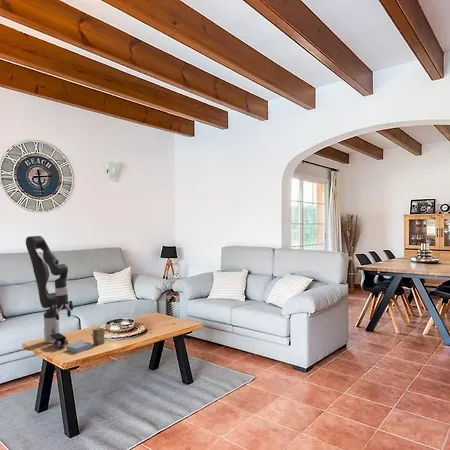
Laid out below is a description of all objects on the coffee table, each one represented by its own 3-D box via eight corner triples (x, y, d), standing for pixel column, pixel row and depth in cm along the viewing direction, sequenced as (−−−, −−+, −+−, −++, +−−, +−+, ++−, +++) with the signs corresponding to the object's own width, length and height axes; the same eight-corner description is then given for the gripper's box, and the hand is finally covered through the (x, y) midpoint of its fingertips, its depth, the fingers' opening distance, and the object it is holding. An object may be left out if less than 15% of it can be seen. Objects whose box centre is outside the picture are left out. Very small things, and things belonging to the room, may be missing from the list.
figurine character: (69, 349, 251) (59, 342, 261) (69, 338, 250) (59, 331, 260) (58, 352, 246) (49, 344, 256) (58, 341, 245) (49, 333, 255)
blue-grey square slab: (66, 350, 245) (66, 345, 245) (81, 345, 254) (81, 340, 254) (77, 353, 239) (76, 348, 239) (91, 347, 248) (91, 343, 248)
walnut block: (93, 344, 255) (92, 329, 254) (99, 342, 259) (98, 327, 259) (98, 345, 252) (97, 330, 252) (104, 343, 256) (103, 328, 256)
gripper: (67, 292, 264) (69, 315, 264) (48, 296, 252) (50, 320, 252) (74, 292, 260) (76, 316, 260) (55, 296, 248) (57, 321, 248)
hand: (63, 318), depth 256 cm, fingers open, 8 cm apart
